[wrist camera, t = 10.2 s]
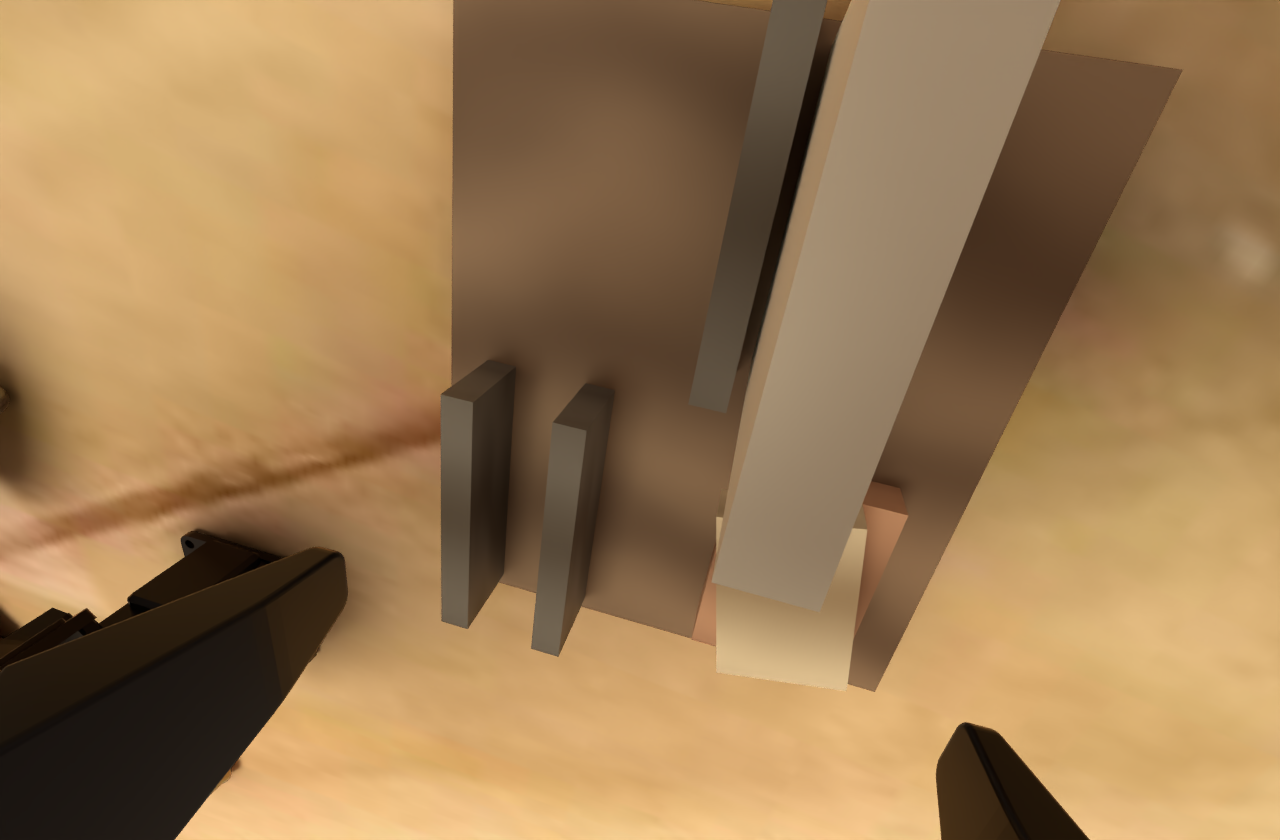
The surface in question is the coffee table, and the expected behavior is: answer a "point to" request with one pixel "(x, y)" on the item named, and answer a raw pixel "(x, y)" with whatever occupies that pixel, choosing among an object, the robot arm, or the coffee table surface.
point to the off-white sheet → (866, 270)
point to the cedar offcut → (882, 534)
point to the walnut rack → (708, 294)
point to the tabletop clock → (3, 400)
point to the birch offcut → (792, 625)
